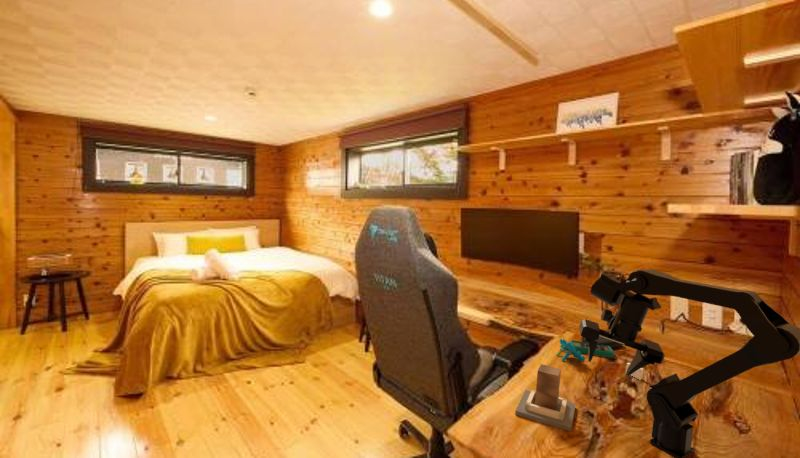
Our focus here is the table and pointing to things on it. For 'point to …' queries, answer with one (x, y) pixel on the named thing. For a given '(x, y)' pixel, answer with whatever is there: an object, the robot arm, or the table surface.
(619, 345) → the carrying case or bag
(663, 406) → the robot arm
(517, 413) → the socket plate
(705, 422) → the table surface
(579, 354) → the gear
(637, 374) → the eraser
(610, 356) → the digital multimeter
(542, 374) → the block
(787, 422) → the table surface
